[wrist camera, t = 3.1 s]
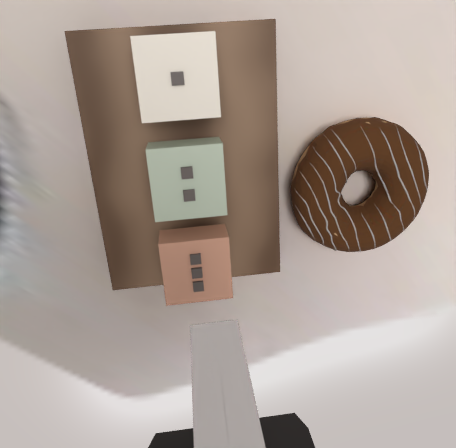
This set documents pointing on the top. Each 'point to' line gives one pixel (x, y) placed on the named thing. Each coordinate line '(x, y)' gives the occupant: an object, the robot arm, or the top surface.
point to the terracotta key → (195, 264)
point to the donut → (339, 173)
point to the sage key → (187, 178)
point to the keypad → (179, 130)
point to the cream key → (176, 76)
